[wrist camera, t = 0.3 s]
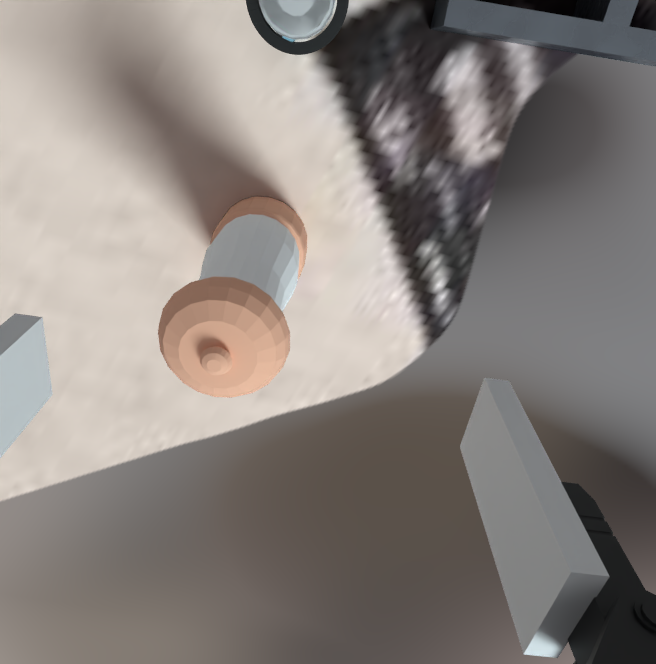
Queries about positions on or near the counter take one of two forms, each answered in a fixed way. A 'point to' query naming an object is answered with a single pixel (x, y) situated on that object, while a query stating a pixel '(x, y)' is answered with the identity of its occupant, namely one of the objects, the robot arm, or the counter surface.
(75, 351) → the counter surface
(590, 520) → the robot arm
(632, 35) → the square-hole rail
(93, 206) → the counter surface
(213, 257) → the pepper shaker
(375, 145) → the counter surface
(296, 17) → the push button
